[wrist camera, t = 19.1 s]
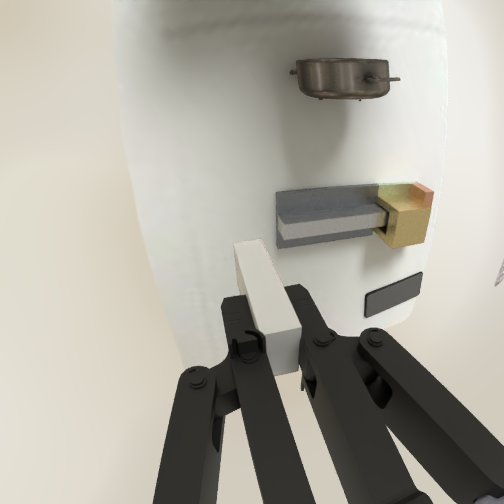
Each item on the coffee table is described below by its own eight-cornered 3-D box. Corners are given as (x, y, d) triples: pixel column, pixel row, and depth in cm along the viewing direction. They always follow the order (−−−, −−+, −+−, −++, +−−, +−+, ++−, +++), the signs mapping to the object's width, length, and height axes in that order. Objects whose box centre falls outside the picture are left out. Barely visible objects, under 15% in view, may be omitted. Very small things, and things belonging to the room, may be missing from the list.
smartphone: (419, 294, 62) (365, 318, 61) (417, 292, 63) (363, 316, 62) (423, 271, 58) (366, 295, 57) (421, 269, 59) (364, 292, 58)
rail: (277, 246, 48) (286, 263, 44) (276, 192, 43) (286, 204, 39) (409, 227, 51) (424, 239, 47) (416, 181, 47) (434, 191, 43)
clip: (373, 231, 49) (392, 248, 44) (377, 196, 46) (398, 211, 41) (404, 226, 50) (423, 242, 45) (409, 193, 47) (431, 207, 42)
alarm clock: (354, 58, 34) (431, 57, 21) (357, 93, 37) (434, 108, 24) (280, 61, 34) (337, 50, 20) (286, 99, 36) (344, 111, 23)
